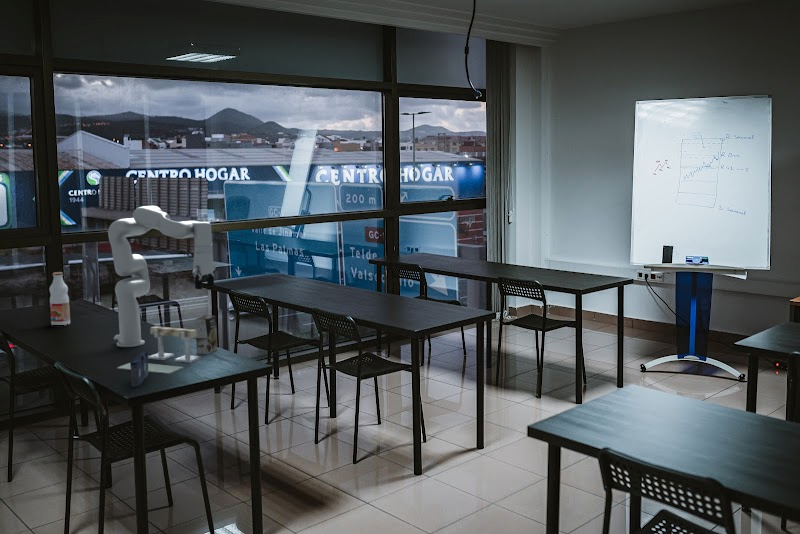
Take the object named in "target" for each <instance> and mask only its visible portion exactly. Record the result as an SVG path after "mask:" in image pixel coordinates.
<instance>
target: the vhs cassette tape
mask: <svg viewBox="0 0 800 534" xmlns="http://www.w3.org/2000/svg"><path fill="white" fill-rule="evenodd" d="M148 356H149V354H148V351H146V350H145V351H141V352H140V353H138V355H136V356H135V357H134V359H133V360H131V361H130V362H129V363H130V367H131V370H130V379H131V380H130V381H131V382H130V383H131V388H139V387H140V385H142V383H143V382H144V381H145V380H146V378H147V377H148V376H149V374H150V372H148V363H149V359H148ZM144 379H145V380H144ZM138 386H139V387H138Z"/></svg>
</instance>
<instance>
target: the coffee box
mask: <svg viewBox="0 0 800 534" xmlns="http://www.w3.org/2000/svg"><path fill="white" fill-rule="evenodd" d="M195 330H197V337H195V342H196V344H195V345H196V346H195V347H196V350H195V351H196V354H200V355H201V354H202V355H210V354H212V353H214V352H215V351H218V340H217V337H218V336H217V315H202V316H199V317H196V318H195Z"/></svg>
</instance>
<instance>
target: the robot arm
mask: <svg viewBox="0 0 800 534" xmlns="http://www.w3.org/2000/svg"><path fill="white" fill-rule="evenodd" d="M152 229H155V230H157V231H159V232H160V233H161V234H162V235H164V236H167V237H170V238H174V239H179V240H180V239H181V240H182V239H183V240H184V239H191V238H193V240H194V241H193V242H194V244H193V245H194V253H193V260H192V263H193V265H192V267H193V270H192V271H191V273H192V277H193V279H194V285H195V286H194V287H195V289H196V290H203V280H202V277H203V276H206V275H207V277H206V284H207V286H208V287H209V286H211V287H213V286H215V279H214V278H215V273H216V268H217V267H216V265H214V257H213V243H212V241H213V240H212V239H213V237H212V236H213V235H212V224H211V222H209V221H199V220H198V221H197V220H186V221H185V220H183V221H175V220H172V219H171V217H170V215H169V214H168V213H167V212H165V211H162V209H161V208H160V207H159V206H157V205H145V206H138V207H137V208H136V209H135V210H134V211H133V212H132V217H130V218H129V217H128V218H126V217H125V218H120V219H117V220H115V221H113V222H112V223H111V224H110V225H109V227H108V231H107V234H108V236H107V237H108V240H109V243H110V247H111V253H112V258H113V259H112V260H113V264H114V270H115V273H116V274H117V275H118V276H120V277H127V276H131V277H128V278H124V279H121V280H119V281H118V282H117V283H116V284H115V287H114V292H115V296H116V301H117V310H118V313H117V314H118V326H119V328H118V329H119V334H115V335H114V336H113V340H117V342H116V346H117V347H119V348H120V347H121V348H135V347H140V346H143V345H145V344H146V343H145V340H143V339H142V333H141V332H142V331H141V313H140V312H141V311H140V304H139V302H138V301H137V298H139V297H143V296H145V295H147V294H148V293H149V291H150V290H151V289H150V288H151V282H150V276H149V275H150V274H149V270H148V268H149V267H148V264H147V260H146V259H145V257H143V255H141V254H137V253H132V247H131V245H130V242H129V240H128V239H127V238H128V237H136V236H142V235H144V234H146V233H147V232H149V231H150V230H152Z"/></svg>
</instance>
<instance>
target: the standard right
mask: <svg viewBox="0 0 800 534" xmlns="http://www.w3.org/2000/svg"><path fill="white" fill-rule="evenodd" d="M180 339H181V340H182V341H184V355H181V356H179V357H176V358H174V362H179V363H189V364H191V363H194V362H196V361H198V360H201V359H202V356H201V355H200V356H199V355H191V338H187V337H186V332H181V337H180Z"/></svg>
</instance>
